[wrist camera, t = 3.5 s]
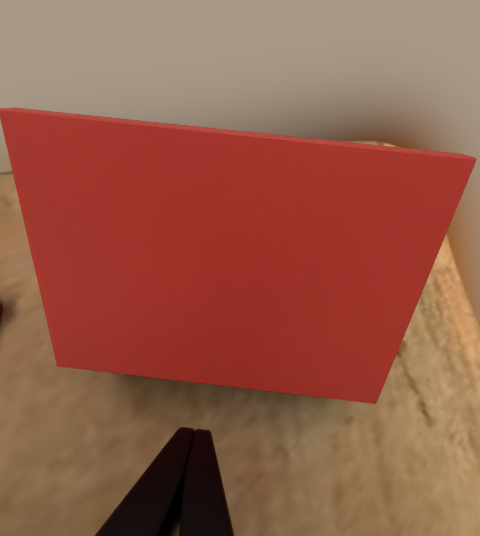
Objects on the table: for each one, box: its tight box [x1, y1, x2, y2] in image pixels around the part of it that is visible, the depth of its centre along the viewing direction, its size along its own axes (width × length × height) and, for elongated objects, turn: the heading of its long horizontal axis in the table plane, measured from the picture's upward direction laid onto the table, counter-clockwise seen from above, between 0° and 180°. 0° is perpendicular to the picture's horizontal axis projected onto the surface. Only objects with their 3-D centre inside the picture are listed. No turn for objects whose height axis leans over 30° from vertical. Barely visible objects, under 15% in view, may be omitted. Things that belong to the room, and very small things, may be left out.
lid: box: [0, 108, 476, 404], centre depth 13 cm, size 11×15×1 cm
